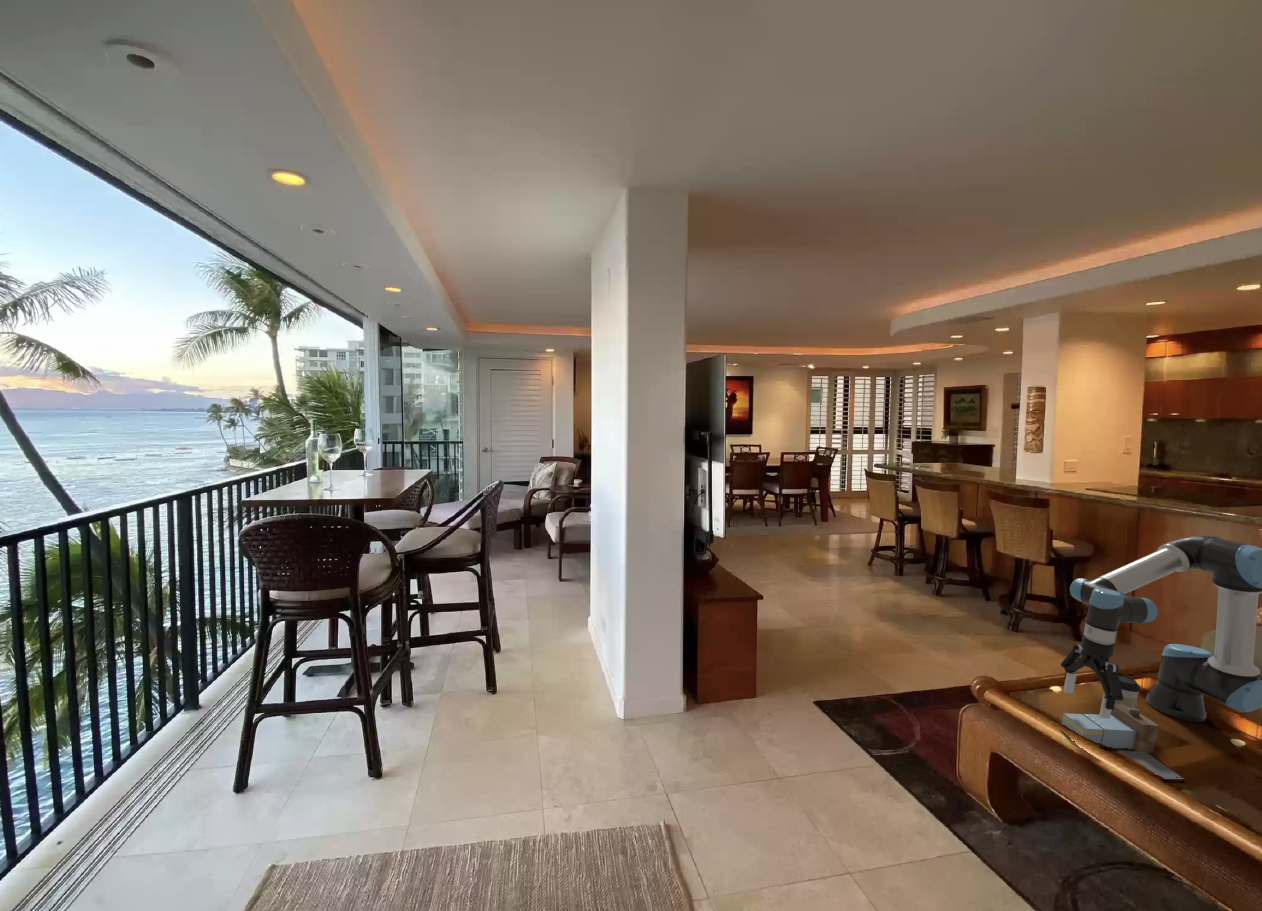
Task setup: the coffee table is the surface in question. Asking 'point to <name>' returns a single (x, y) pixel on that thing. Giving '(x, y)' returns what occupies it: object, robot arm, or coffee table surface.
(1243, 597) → the robot arm
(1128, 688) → the coffee cup
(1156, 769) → the coaster
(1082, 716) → the light blue block
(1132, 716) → the brown block with knob
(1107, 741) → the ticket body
